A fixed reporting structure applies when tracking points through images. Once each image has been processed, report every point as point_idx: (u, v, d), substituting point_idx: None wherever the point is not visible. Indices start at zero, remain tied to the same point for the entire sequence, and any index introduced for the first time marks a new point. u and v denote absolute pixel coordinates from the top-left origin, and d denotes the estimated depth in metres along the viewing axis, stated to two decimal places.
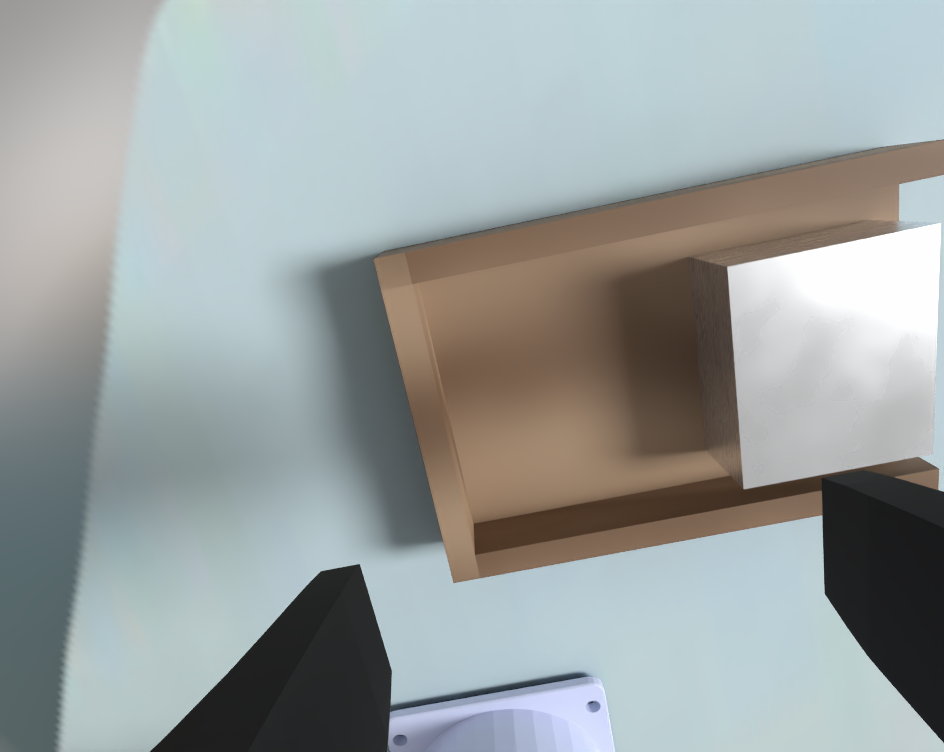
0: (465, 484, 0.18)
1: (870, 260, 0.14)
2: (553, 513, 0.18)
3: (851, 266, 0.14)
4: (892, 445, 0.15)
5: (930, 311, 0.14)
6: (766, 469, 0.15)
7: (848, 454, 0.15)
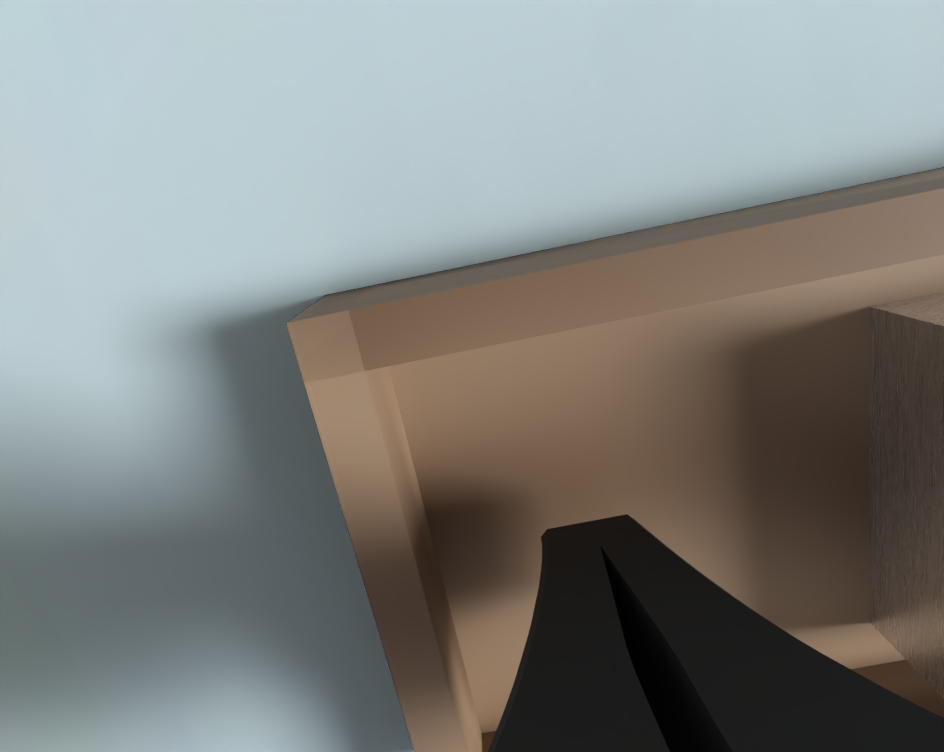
0: (468, 676, 0.11)
1: None
2: None
3: None
4: None
5: None
6: None
7: None
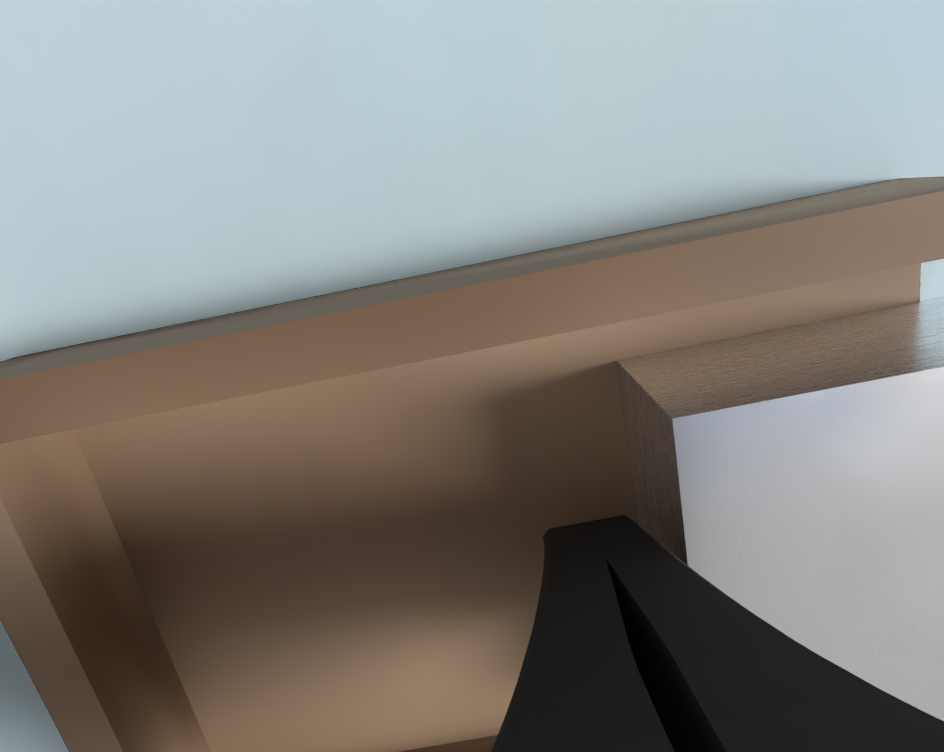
0: (200, 726, 0.11)
1: None
2: None
3: (928, 417, 0.07)
4: None
5: None
6: None
7: None
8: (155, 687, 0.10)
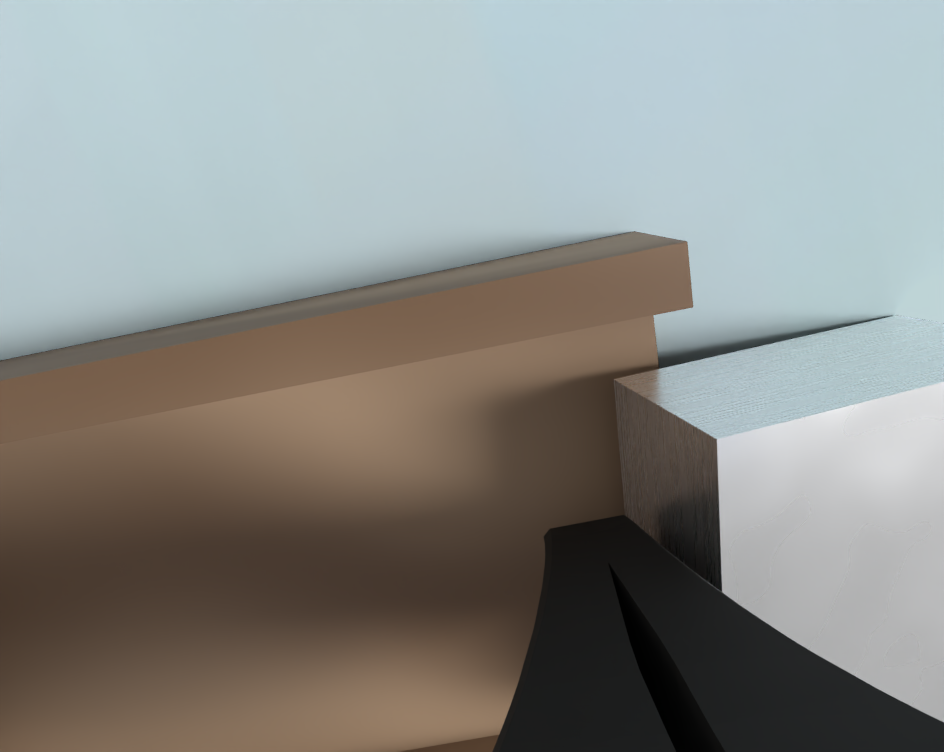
0: None
1: None
2: None
3: (937, 429, 0.07)
4: None
5: None
6: None
7: None
8: None
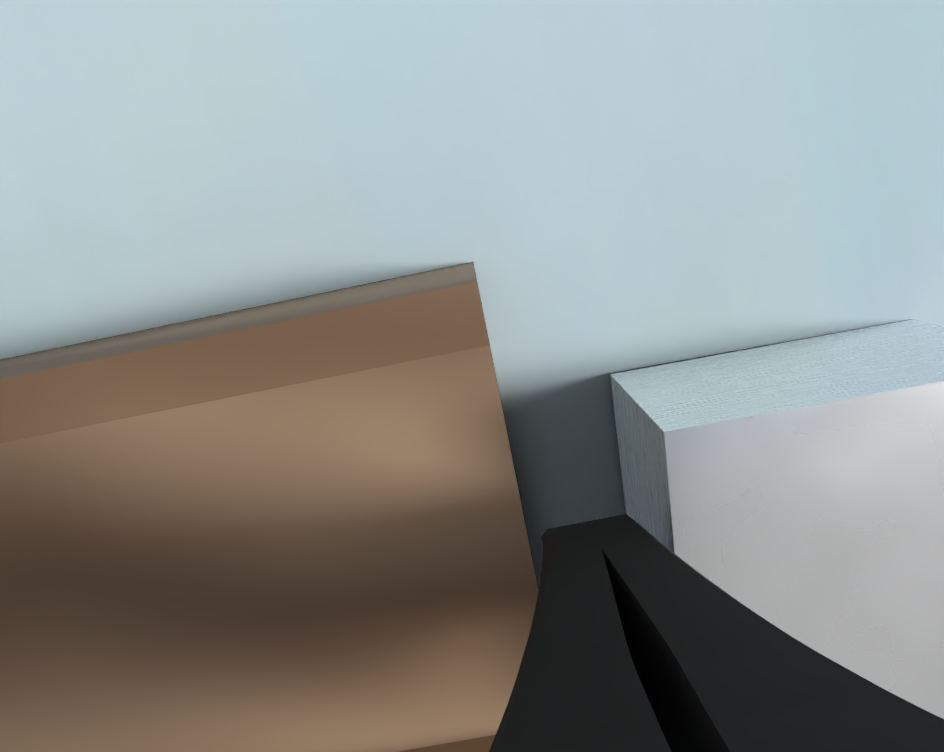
0: None
1: (932, 423, 0.07)
2: None
3: (896, 434, 0.07)
4: None
5: None
6: None
7: None
8: None
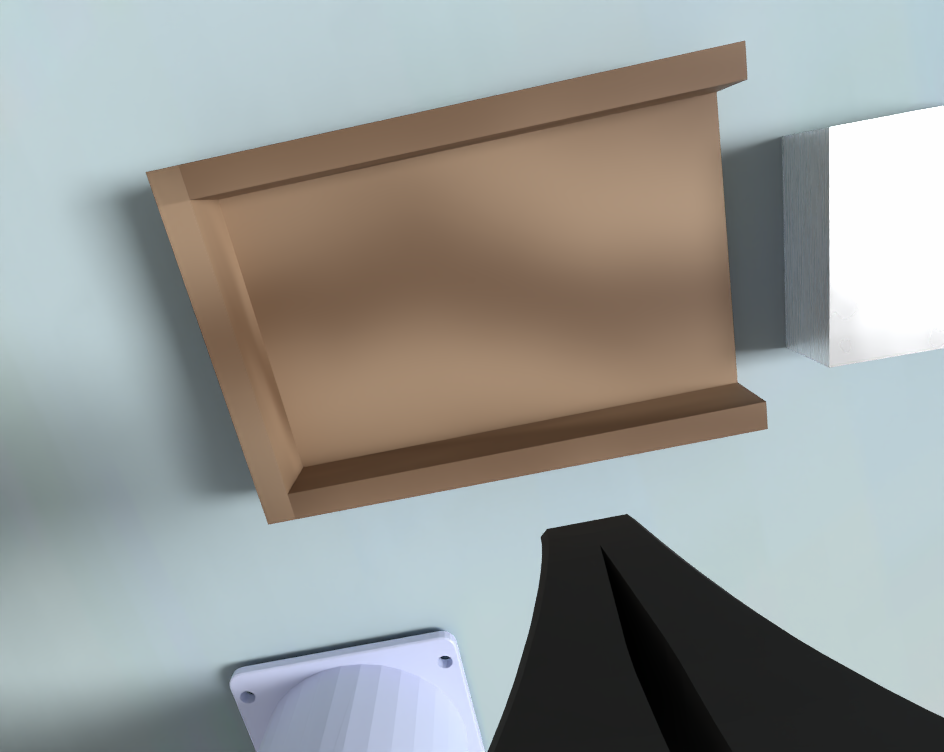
0: (290, 425, 0.17)
1: None
2: (382, 455, 0.18)
3: None
4: None
5: None
6: (854, 346, 0.15)
7: (936, 333, 0.15)
8: (267, 383, 0.16)
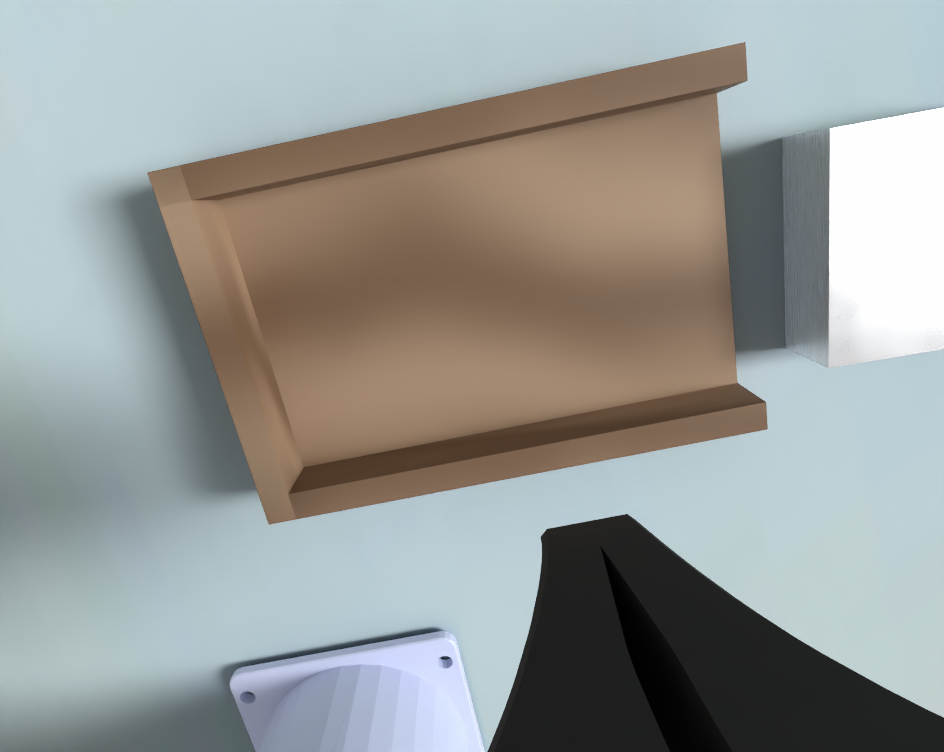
0: (290, 425, 0.17)
1: None
2: (382, 455, 0.18)
3: None
4: None
5: None
6: (853, 347, 0.15)
7: (935, 334, 0.15)
8: (268, 383, 0.17)
